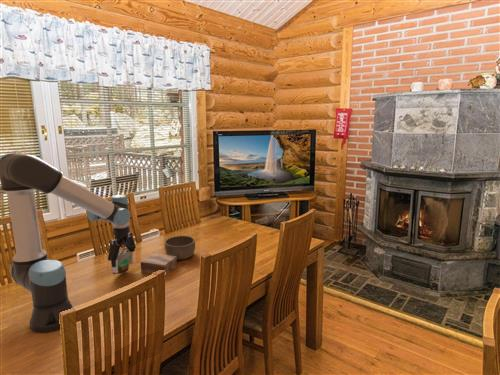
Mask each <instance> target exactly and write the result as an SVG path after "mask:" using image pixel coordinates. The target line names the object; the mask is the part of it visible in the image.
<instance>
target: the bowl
mask: <svg viewBox="0 0 500 375" xmlns="http://www.w3.org/2000/svg"><path fill="white" fill-rule="evenodd" d="M164 249H165V250H164V251H165V253H166V254H165V255H170V256H177V261H179V260H186V259H188V258H191V256H193V254H194V253H195V251H196V240H195V238H193V237H192V236H189V235H176V236H172V237H171V236H170V237H169V238H167V239H166V240H165V241H164Z"/></svg>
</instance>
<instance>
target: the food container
mask: <svg viewBox="0 0 500 375" xmlns="http://www.w3.org/2000/svg"><path fill="white" fill-rule="evenodd" d="M129 256H130V251H129V249H127V247H123V249H122V250H119V253H118V256H117V259H116V260H118V273H113V272H112V274H113V275H119V274H123V273H126V272H128V271H129V268H130V267H129ZM110 264H111V265H112V263H111V262H110Z"/></svg>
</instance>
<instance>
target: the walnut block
mask: <svg viewBox="0 0 500 375" xmlns="http://www.w3.org/2000/svg"><path fill="white" fill-rule="evenodd" d="M177 261H178V260H177V256H170V255H167V254H162V253H161V254H160V253H156V252H155V253H152V254H151V255H149V256H147V257H146V258H144V259H143V260H141V261H140V273H141V274H147V275H152V273H153V272H156V271H158V270H165V272H166V276H168V275H169V274H170V273H171V272H173V271H174V270H175V269H176V268H177V267H178V262H177ZM168 273H169V274H168ZM167 274H168V275H167Z"/></svg>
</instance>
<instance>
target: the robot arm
mask: <svg viewBox="0 0 500 375" xmlns="http://www.w3.org/2000/svg"><path fill="white" fill-rule="evenodd" d="M0 187H1V191H2V192H3V193H5V194H6V195H7V200H8V207H9V212H10V213H9V214H10V219H11V226H12V227H11V228H12V233H13V239H14V246H15V254H14V256H13V257H12V264H11V266H10V270H9V271H10V272H9V273H10V277H11V278H12V280H13V281H14V282H15V283H16V284H17V285H18V286H20V287H23V288H24V289H25V290H27V291H28V292H30V293H31V298H32V305H33V308H32V312H31V317H30V320H29V327H30V330H31V331H32V332H35V333H50V332H55V331H58V330H61V329H60V324H59V313H60V312H62V311H65V310H68V309H71V308H74V307H73V304H72V303H71V301H70V299H69V293H68V286H67V285H68V284H67V283H68V282H67V275H66V274H67V271H66V268H65V265H64V264H63V262H62V261H60V260H56V259H49V258H48V257H49V256H48V252H47V251H46V250H45V249H43V247H42V246H43V245H42V238H41V232H40V225H39V218H38V210H37V203H36V195H35V192H36V190H37V191H39V192H42V193H45V194H47V195H48V194H53V195H55V196H56V197H59V198H61V199H63V200H65V201H67V202H69V203H71V204H74V205H76V206H77V207H79V208H82V209H83V210H85V211H86V217H87V219H88V220H89V221H91V222H94V221H95V222H96V221H104V222H107V223H112V233H113V234H112V235H114V239H110V242H109V243H110V246H109V251H108V256H107V261H109V262H110V264H111V263H112V264H111V269H112V274H113V273H118V260H116V259H117V256H118V253H119V252H120V251H121V250H120V249H121V248H122V246H123V245H124V246H125V248H127V249H129V251H130V256H129V264H130V265H133V264H134V252H135V251H136V248H137V247H136V244H135V241H134V238H133V233H132V232H130V226H129V225H130V220H131V212H130V211H129V201H128V200H129V199H128V196H126V195H125V194H117V195H116V194H115V195H112V196H111V198H110V200H108V199H106V198H104V197H102V196H101V195H100V194H97V193H95V192H93V191H92V190H89V189H88V188H86V187H84V186H82V185H81V184H78V183H77V182H75V181H74V180H71V179H69V178H68V177H67V176H64V174H63V172H62V171H61V170H59V169H57V168H56V167H55V166H52V165H51V164H49V163H47V162H46V161H45V160H43V159H41V158H40V157H37V156H35V155H32V154H23V153H20V152H10V153H6V154H3V155H2V156H0Z"/></svg>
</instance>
